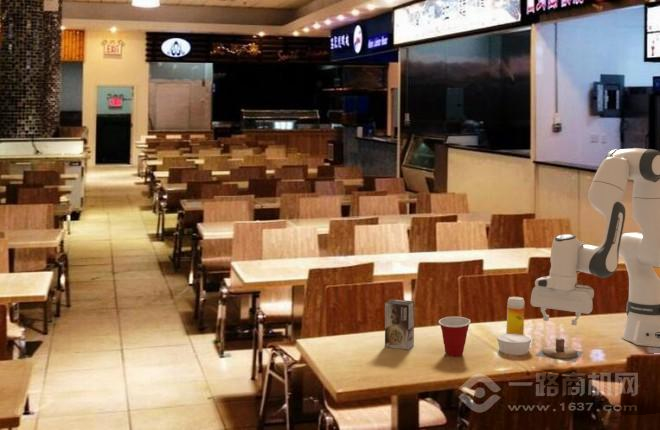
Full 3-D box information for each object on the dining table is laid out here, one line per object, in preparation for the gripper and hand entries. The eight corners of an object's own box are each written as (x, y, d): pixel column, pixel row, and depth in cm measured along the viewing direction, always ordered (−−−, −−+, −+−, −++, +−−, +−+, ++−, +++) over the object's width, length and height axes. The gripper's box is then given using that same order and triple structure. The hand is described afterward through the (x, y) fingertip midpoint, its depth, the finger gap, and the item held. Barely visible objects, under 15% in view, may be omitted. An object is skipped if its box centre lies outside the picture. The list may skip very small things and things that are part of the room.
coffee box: (414, 345, 272) (415, 301, 270) (408, 350, 267) (409, 304, 265) (390, 342, 276) (391, 298, 274) (383, 346, 270) (384, 302, 268)
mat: (583, 353, 265) (583, 351, 264) (574, 363, 253) (574, 361, 253) (545, 347, 271) (545, 345, 271) (535, 357, 260) (535, 355, 260)
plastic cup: (431, 353, 263) (431, 319, 262) (453, 347, 270) (453, 314, 268) (454, 361, 255) (455, 326, 253) (476, 355, 261) (477, 321, 260)
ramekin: (492, 354, 263) (492, 339, 263) (503, 346, 273) (503, 331, 272) (524, 359, 257) (525, 344, 257) (534, 351, 267) (535, 336, 266)
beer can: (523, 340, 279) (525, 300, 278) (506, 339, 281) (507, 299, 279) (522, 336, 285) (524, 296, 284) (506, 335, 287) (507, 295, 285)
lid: (580, 351, 264) (581, 337, 264) (573, 360, 254) (573, 345, 254) (546, 346, 270) (547, 333, 269) (538, 355, 260) (539, 341, 259)
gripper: (596, 284, 257) (593, 325, 258) (535, 277, 267) (533, 316, 268) (592, 288, 251) (589, 329, 253) (530, 280, 261) (528, 320, 263)
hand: (560, 322), depth 261 cm, fingers open, 8 cm apart
